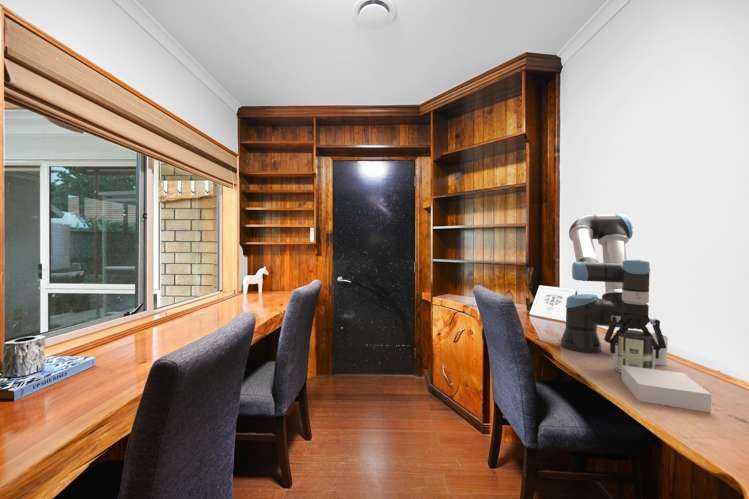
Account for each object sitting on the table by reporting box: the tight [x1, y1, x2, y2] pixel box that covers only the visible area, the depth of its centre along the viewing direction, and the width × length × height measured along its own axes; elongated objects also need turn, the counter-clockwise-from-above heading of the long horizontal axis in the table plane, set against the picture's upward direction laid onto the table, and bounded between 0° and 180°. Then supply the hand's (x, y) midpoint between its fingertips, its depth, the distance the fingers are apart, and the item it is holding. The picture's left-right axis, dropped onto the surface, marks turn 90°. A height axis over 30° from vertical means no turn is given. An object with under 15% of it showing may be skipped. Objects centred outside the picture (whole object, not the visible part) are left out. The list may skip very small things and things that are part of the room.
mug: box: [650, 332, 669, 366], centre depth 125 cm, size 12×8×10 cm, turn 159°
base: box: [621, 365, 712, 413], centre depth 99 cm, size 16×16×5 cm
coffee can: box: [615, 329, 653, 374], centre depth 117 cm, size 10×10×14 cm
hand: (633, 364), depth 117 cm, fingers closed on coffee can, 10 cm apart
